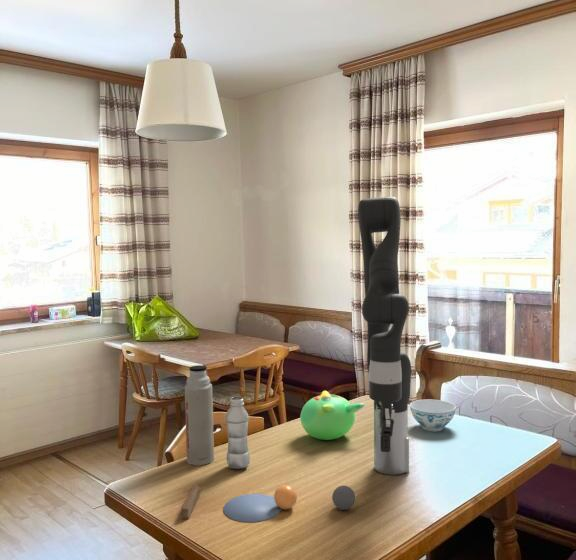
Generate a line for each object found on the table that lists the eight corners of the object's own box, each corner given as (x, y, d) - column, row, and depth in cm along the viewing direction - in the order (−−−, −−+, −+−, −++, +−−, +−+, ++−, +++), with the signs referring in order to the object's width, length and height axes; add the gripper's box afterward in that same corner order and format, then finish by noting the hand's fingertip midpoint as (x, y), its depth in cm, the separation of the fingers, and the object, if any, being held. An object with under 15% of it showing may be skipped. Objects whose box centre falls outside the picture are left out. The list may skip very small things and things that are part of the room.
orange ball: (297, 502, 139) (297, 481, 139) (296, 513, 134) (296, 491, 133) (275, 502, 140) (274, 481, 139) (273, 513, 134) (272, 490, 134)
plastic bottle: (246, 472, 158) (245, 402, 156) (223, 471, 159) (221, 401, 157) (252, 463, 164) (251, 395, 162) (230, 462, 165) (228, 394, 164)
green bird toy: (336, 425, 196) (335, 383, 194) (367, 440, 181) (367, 395, 180) (291, 435, 186) (291, 392, 185) (320, 452, 172) (320, 404, 171)
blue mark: (283, 494, 144) (283, 494, 144) (279, 522, 130) (279, 521, 130) (228, 494, 145) (228, 493, 144) (218, 521, 131) (218, 520, 131)
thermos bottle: (185, 466, 163) (182, 370, 161) (188, 455, 171) (185, 364, 169) (213, 464, 164) (210, 369, 161) (214, 454, 171) (212, 363, 169)
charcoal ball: (354, 503, 138) (354, 481, 138) (356, 514, 133) (356, 491, 132) (332, 503, 139) (331, 481, 138) (332, 514, 133) (332, 491, 133)
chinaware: (461, 435, 184) (461, 412, 183) (414, 436, 184) (414, 412, 184) (448, 420, 199) (448, 399, 198) (405, 421, 199) (405, 399, 199)
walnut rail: (199, 495, 144) (199, 486, 144) (188, 519, 132) (188, 508, 132) (193, 495, 144) (193, 486, 144) (182, 519, 132) (181, 508, 132)
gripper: (405, 386, 126) (405, 462, 127) (397, 372, 139) (397, 441, 140) (371, 385, 126) (371, 461, 128) (367, 372, 140) (367, 440, 141)
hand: (385, 450), depth 134 cm, fingers closed
